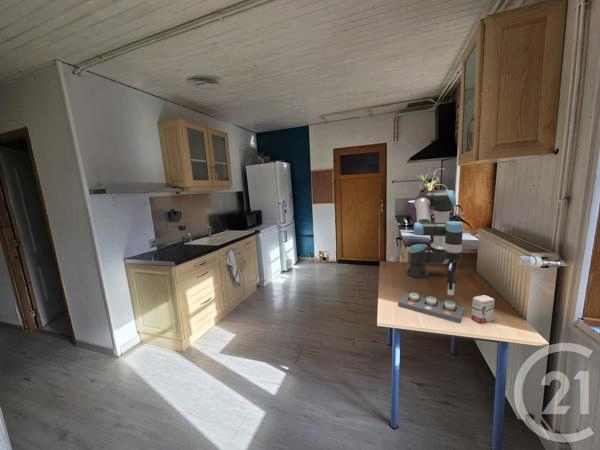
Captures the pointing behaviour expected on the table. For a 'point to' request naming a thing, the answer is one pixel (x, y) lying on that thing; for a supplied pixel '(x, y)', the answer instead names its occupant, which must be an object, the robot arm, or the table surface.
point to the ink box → (482, 309)
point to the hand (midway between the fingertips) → (450, 294)
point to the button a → (414, 296)
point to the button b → (431, 301)
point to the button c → (450, 305)
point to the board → (432, 308)
